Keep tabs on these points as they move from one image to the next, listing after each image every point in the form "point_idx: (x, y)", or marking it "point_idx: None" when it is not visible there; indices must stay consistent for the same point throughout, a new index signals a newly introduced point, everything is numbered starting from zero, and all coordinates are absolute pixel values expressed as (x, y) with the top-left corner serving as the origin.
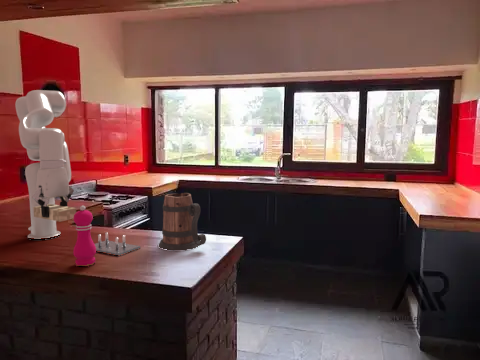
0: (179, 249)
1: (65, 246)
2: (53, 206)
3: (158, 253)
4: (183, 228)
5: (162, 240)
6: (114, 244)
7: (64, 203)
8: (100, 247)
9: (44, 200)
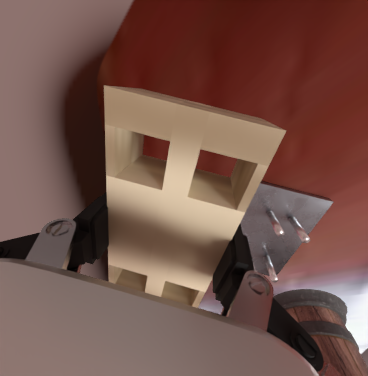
0: None
1: (289, 106)
2: (189, 220)
3: None
4: None
5: (302, 305)
6: (286, 235)
7: (214, 288)
8: (258, 219)
9: (67, 264)
